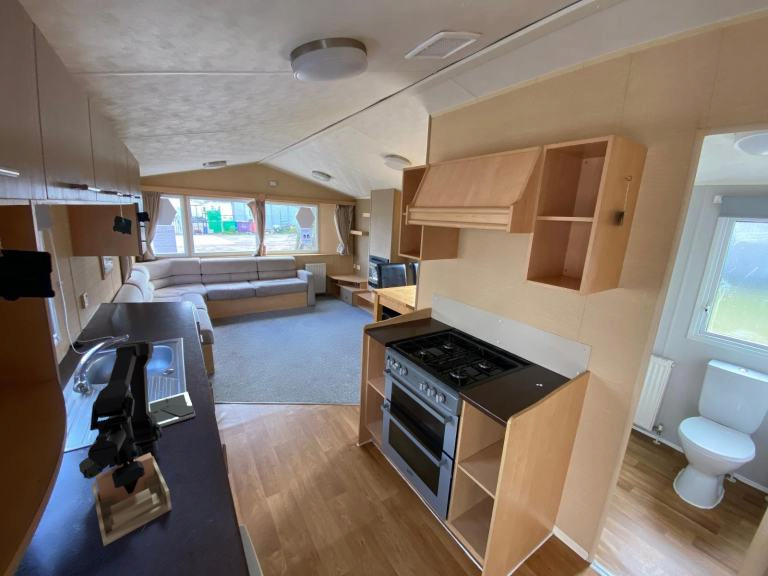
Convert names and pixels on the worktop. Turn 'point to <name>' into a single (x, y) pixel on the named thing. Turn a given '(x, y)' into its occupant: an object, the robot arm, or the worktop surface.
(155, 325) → the worktop surface
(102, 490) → the orange tan rectangular slab
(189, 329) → the worktop surface
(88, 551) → the worktop surface
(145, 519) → the rack
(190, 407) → the picture frame
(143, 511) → the offcut lower
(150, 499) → the offcut upper
